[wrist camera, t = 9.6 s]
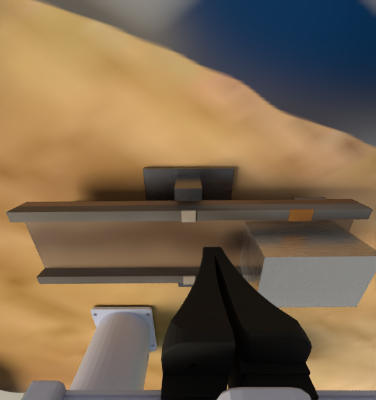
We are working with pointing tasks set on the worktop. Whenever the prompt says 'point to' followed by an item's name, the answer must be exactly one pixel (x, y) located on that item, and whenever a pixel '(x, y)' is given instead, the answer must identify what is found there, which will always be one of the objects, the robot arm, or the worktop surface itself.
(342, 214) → the beam
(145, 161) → the worktop surface
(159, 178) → the pivot stand
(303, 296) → the block
